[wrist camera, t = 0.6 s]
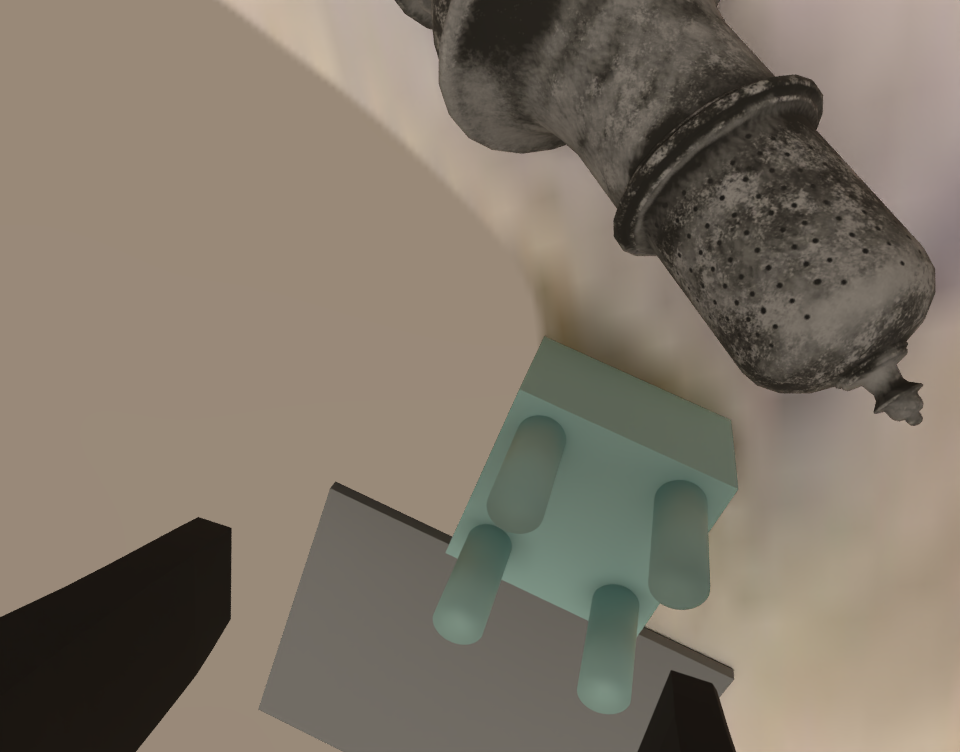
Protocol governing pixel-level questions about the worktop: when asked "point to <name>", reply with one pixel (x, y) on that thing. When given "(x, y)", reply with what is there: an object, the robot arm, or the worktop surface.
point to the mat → (442, 653)
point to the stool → (592, 511)
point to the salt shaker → (702, 177)
